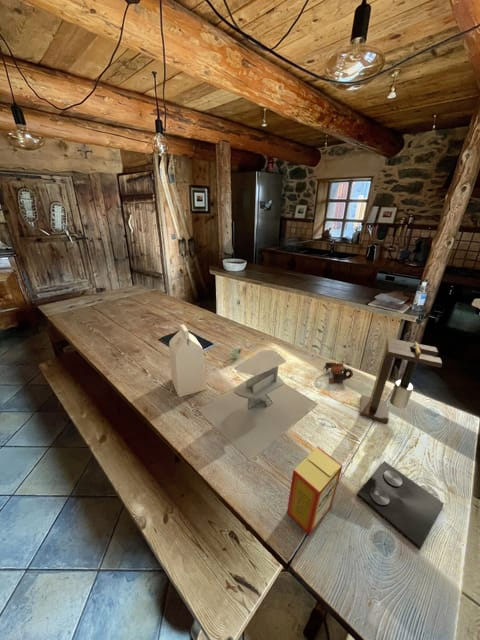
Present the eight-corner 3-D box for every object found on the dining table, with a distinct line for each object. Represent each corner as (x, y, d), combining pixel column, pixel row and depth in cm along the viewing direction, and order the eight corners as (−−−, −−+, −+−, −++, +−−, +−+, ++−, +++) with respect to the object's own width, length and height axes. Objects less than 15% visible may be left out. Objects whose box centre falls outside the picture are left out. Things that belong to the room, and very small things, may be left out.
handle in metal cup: (405, 399, 94) (425, 343, 84) (407, 412, 88) (429, 354, 79) (389, 394, 96) (407, 340, 86) (389, 407, 90) (409, 350, 81)
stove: (442, 505, 67) (444, 502, 67) (419, 549, 59) (421, 546, 58) (383, 463, 78) (384, 460, 77) (356, 495, 69) (357, 492, 69)
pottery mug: (321, 382, 112) (321, 362, 113) (326, 380, 120) (326, 361, 121) (352, 385, 106) (351, 364, 106) (355, 382, 114) (354, 363, 115)
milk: (207, 389, 106) (204, 331, 95) (178, 397, 102) (172, 338, 90) (197, 372, 116) (194, 318, 105) (171, 379, 111) (165, 323, 100)
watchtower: (250, 461, 78) (252, 411, 69) (196, 409, 96) (193, 364, 88) (318, 403, 100) (326, 360, 91) (264, 370, 118) (266, 331, 110)
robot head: (236, 353, 130) (236, 341, 127) (243, 355, 129) (244, 343, 126) (228, 361, 124) (228, 349, 121) (236, 363, 122) (236, 351, 119)
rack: (411, 412, 97) (436, 347, 85) (414, 432, 88) (442, 363, 77) (360, 397, 103) (377, 335, 91) (359, 415, 95) (377, 349, 83)
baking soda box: (308, 535, 61) (319, 492, 54) (286, 512, 65) (293, 469, 59) (331, 506, 67) (342, 464, 60) (309, 487, 71) (318, 445, 64)
